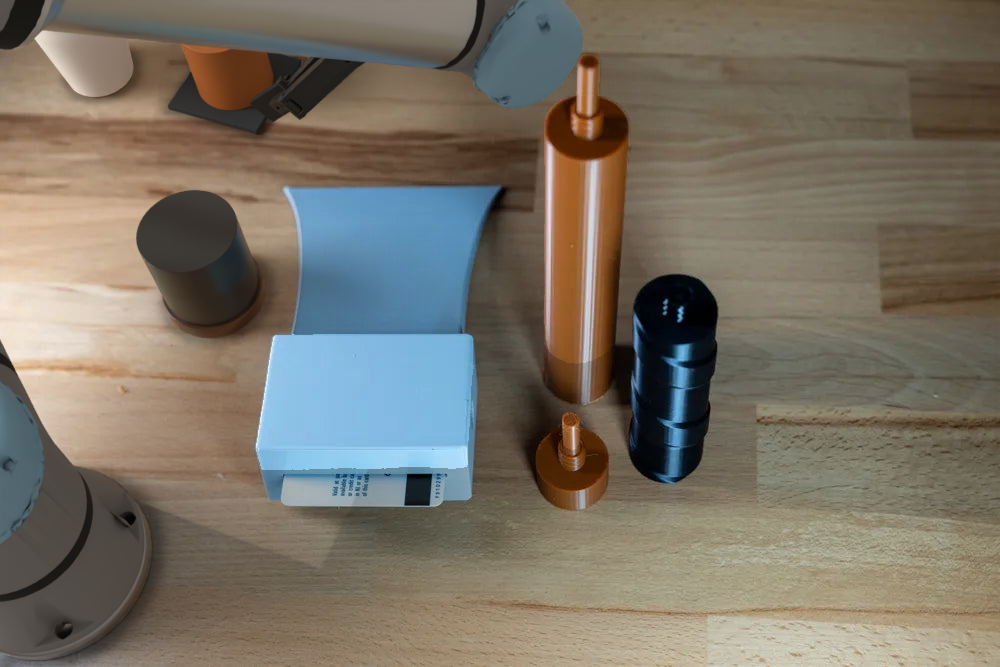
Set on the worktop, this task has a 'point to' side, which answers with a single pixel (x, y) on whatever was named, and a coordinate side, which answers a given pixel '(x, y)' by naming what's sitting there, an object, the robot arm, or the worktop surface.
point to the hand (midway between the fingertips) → (294, 58)
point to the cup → (89, 61)
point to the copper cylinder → (228, 75)
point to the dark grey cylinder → (201, 263)
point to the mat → (242, 119)
